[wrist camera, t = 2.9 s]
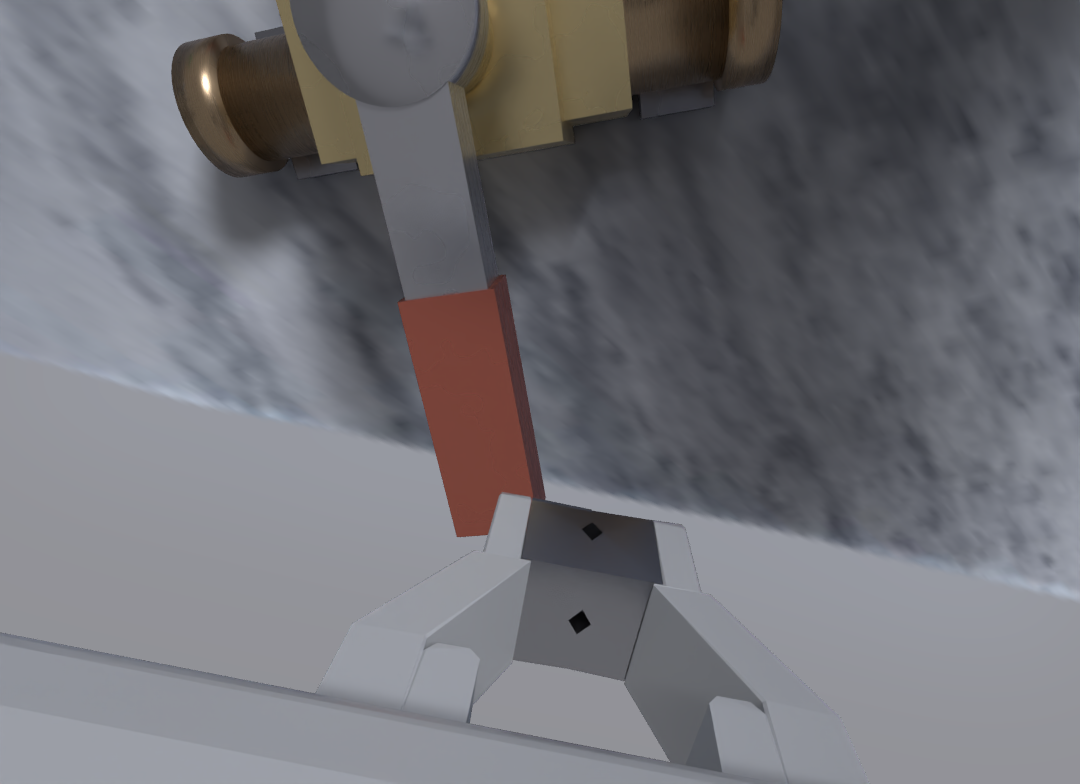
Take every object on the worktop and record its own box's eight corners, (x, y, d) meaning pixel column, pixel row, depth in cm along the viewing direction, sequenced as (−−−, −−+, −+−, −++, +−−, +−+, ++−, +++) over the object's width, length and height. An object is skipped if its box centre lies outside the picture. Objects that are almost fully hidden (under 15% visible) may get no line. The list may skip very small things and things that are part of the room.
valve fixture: (740, -82, 23) (849, -267, 13) (745, 113, 25) (839, 89, 15) (235, 31, 26) (2, -43, 16) (284, 193, 29) (111, 217, 19)
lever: (304, -62, 15) (263, -92, 13) (470, -103, 14) (450, -140, 12) (448, 504, 21) (433, 538, 19) (567, 495, 20) (564, 529, 19)
